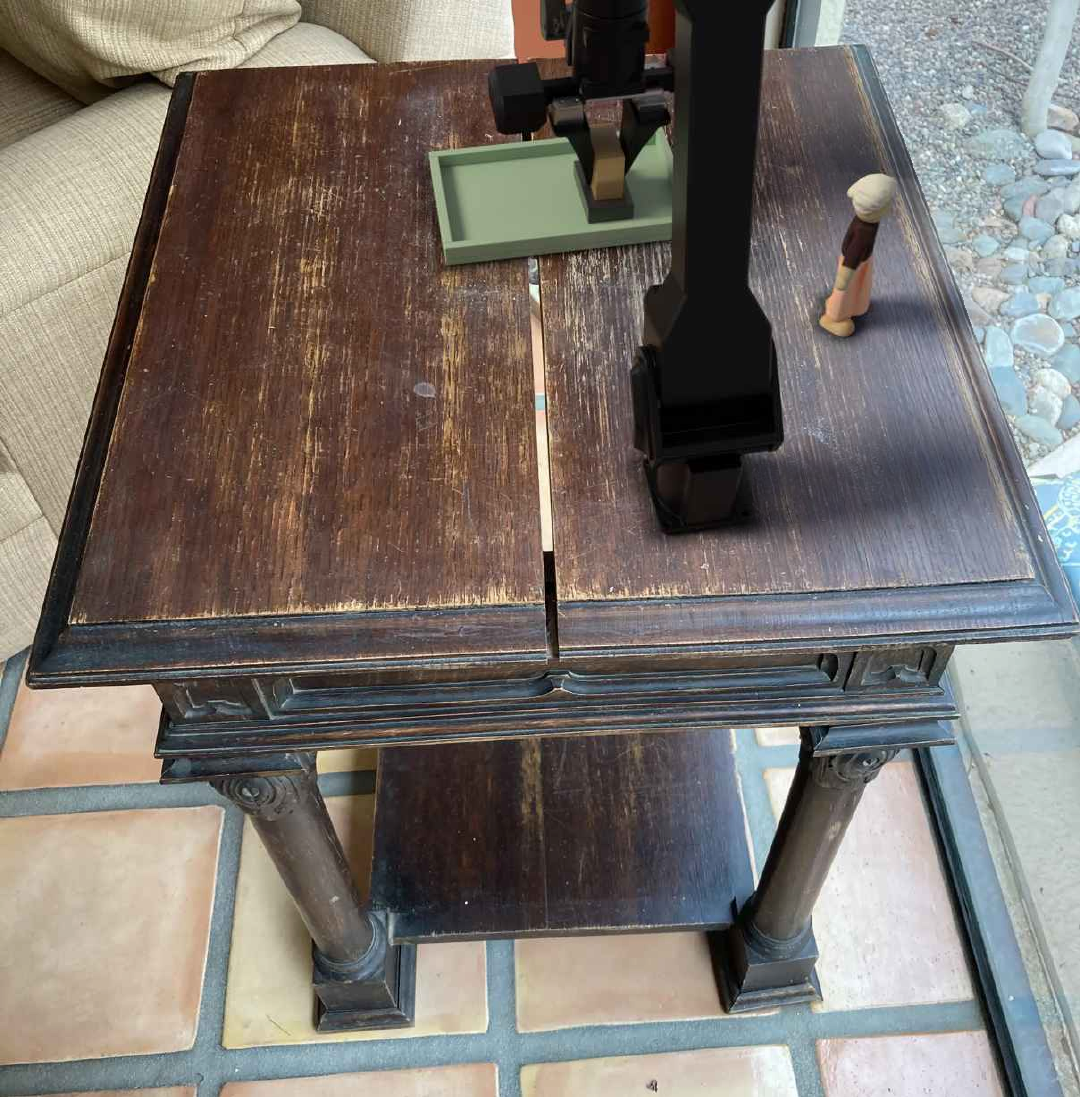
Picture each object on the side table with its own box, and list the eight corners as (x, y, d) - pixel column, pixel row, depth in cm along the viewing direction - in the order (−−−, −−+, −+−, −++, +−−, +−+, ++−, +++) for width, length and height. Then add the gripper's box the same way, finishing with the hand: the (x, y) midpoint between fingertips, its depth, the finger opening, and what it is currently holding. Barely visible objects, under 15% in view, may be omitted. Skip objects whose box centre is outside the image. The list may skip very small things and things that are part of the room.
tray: (696, 236, 90) (698, 219, 88) (446, 265, 88) (444, 248, 87) (660, 143, 98) (662, 126, 96) (430, 169, 96) (428, 151, 95)
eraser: (633, 218, 91) (637, 163, 86) (587, 224, 90) (589, 168, 86) (616, 170, 94) (619, 114, 90) (573, 175, 94) (573, 119, 90)
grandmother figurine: (864, 348, 82) (908, 212, 72) (814, 342, 82) (851, 206, 72) (866, 283, 86) (908, 146, 76) (819, 278, 87) (854, 141, 76)
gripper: (705, -64, 84) (686, 115, 96) (473, -41, 82) (485, 137, 95) (743, 7, 77) (717, 189, 90) (492, 33, 76) (502, 214, 88)
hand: (603, 179), depth 91 cm, fingers closed on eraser, 2 cm apart
